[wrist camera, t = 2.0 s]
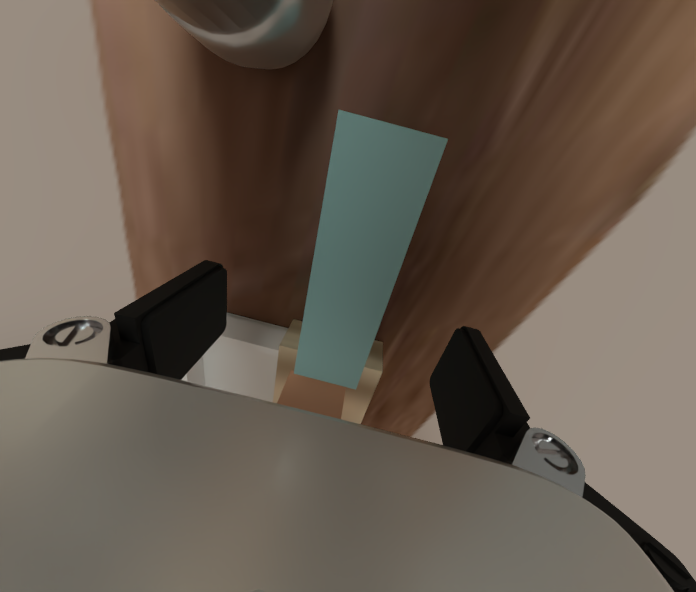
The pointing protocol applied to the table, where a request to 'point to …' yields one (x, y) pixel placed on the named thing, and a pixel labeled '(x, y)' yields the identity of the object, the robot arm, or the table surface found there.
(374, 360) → the beige gold flat block
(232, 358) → the tray
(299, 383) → the tan cube
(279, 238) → the table surface
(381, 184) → the bar
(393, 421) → the table surface
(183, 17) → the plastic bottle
